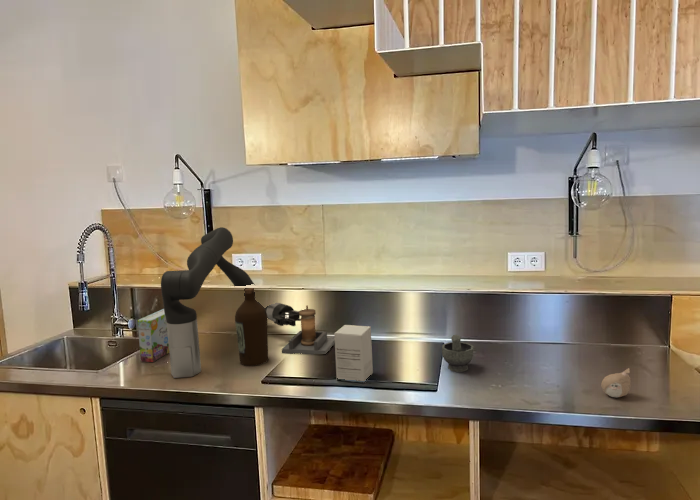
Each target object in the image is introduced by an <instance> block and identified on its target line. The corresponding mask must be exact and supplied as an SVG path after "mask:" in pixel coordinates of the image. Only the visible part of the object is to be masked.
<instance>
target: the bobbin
mask: <svg viewBox="0 0 700 500" xmlns="http://www.w3.org/2000/svg"><path fill="white" fill-rule="evenodd" d="M305 308H306V309H304V308H303V309H304V310H302V309H300V310H298V311H299V315H300V319H301V321H300V328H301V330H300V331H302V338H303V339H302V340H301V345H303V346H313V345H314V341H315V340H316V338H315V337H316V331H317V330H316V316H315V315H316V313H317V312H316V309H313V308H309V305H305ZM313 315H314V316H315V317H314V316H313ZM301 316H302V317H301Z"/></svg>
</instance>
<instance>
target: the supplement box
mask: <svg viewBox="0 0 700 500" xmlns="http://www.w3.org/2000/svg"><path fill="white" fill-rule="evenodd" d="M371 327H372V326H369V325H367V326H366V325H353V324H352V325H351V324H344V325H342V327H341V328H339V329H338V330H337V331H335V332H334V337H333V338H335V344H334V350H335V351H334V354H335V372H336V373H335V374H336V379H337V378H338V379H345V380H356V381H365V380H366V379H367V378H368V377H369V376H370V375H371V376H372V375H373V374H374V370H373V369H374V368H373V349H372V345H373V344H372V328H371ZM371 376H370V377H371ZM370 377H369V378H370ZM369 378H368V379H369ZM368 379H367V380H368Z"/></svg>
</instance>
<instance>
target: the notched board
mask: <svg viewBox="0 0 700 500" xmlns="http://www.w3.org/2000/svg"><path fill="white" fill-rule="evenodd" d="M315 338H316V340H315V341H314V345H313V346H303V345H301V340H302V339H303V338H302V331H301V330H299V331H298V332H297V333H296V334H295V335H294V336H292V338H291V339H289V340H288V343H287V344H286V345H284V346H283V347H282V348H281V354H287V355H288V354H290V355H291V354H293V353H294V354H293V355H296V354H295V353H300V354H299V355H313V354H326V353H327V352H328V351H329V352H330V350H331V349H332V348H331V347H332V346H333V347H334V346H335V337H328V331H318V330H316V337H315ZM330 348H331V349H330ZM301 353H302V354H301ZM327 354H328V353H327ZM327 354H326V355H327Z"/></svg>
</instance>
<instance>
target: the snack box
mask: <svg viewBox="0 0 700 500" xmlns="http://www.w3.org/2000/svg"><path fill="white" fill-rule="evenodd" d="M137 328H138V330H137V331H138V342H139V355H140V362H142V363H143V362H144V363H154V362H156V361H157V360H159V359H161V358H163V357H164V356H166V355H168V354H169V344H168V333H167V322H166V316H165V313H164V308H162V309H160V310H158V311H155V312H154V313H151V314H148V315H146V316H144V317H141V318H140V319H137Z"/></svg>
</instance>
